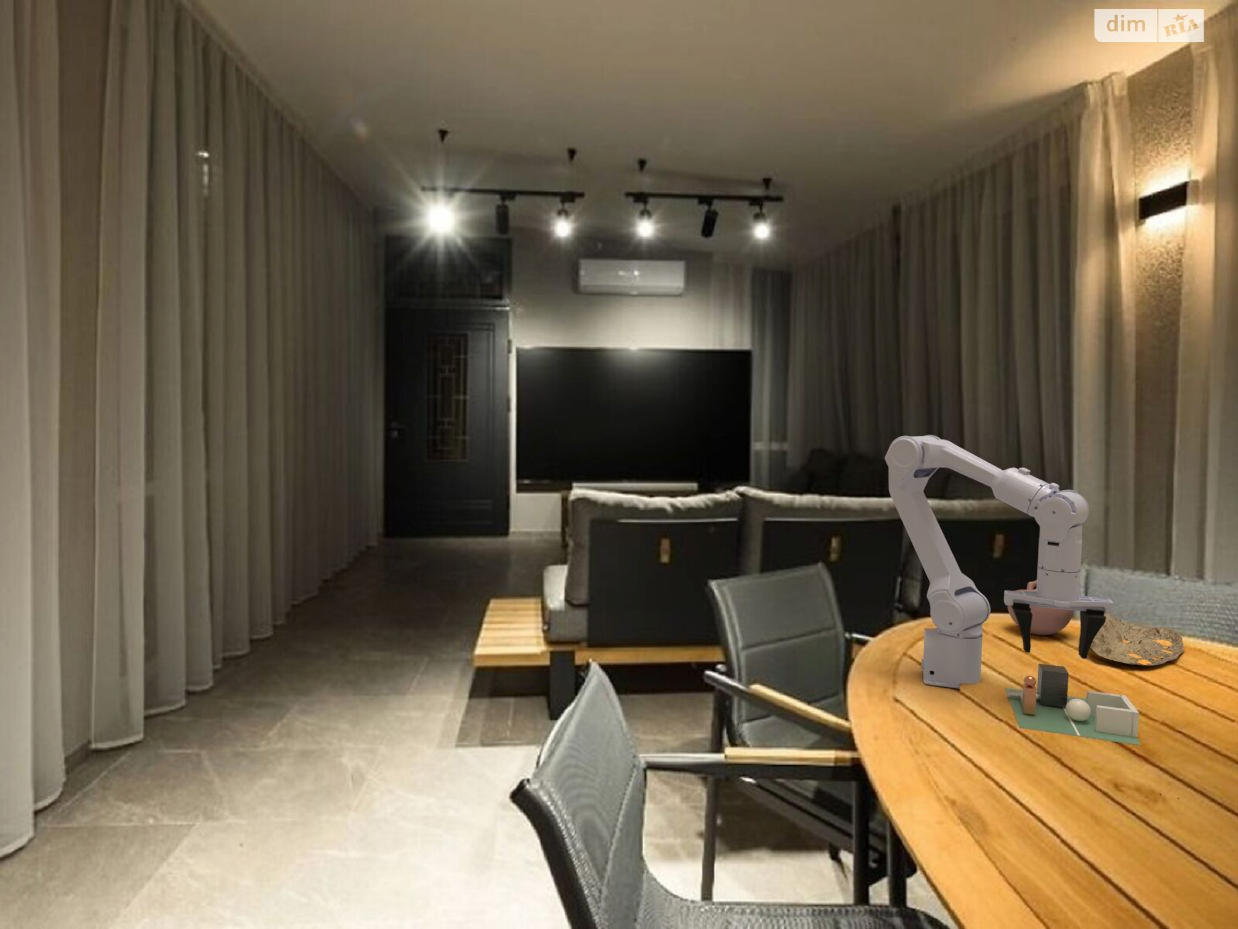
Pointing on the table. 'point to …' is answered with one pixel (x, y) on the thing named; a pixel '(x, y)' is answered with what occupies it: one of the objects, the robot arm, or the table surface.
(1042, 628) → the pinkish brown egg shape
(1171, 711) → the table surface
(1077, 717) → the ball
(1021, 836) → the table surface
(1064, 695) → the knob lever
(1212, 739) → the table surface
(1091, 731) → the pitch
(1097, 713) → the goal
